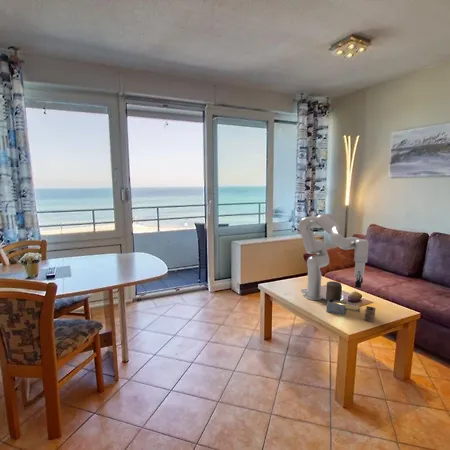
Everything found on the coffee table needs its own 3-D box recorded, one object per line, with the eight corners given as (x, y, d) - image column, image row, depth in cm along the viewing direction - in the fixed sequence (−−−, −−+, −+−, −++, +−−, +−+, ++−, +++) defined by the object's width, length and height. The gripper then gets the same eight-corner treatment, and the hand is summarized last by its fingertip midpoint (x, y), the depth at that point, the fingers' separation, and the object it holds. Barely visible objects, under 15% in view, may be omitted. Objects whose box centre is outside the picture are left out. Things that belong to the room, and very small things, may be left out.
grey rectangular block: (326, 311, 198) (327, 301, 197) (328, 308, 203) (329, 298, 202) (344, 315, 193) (344, 305, 191) (345, 312, 198) (346, 302, 197)
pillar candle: (341, 305, 209) (342, 284, 206) (326, 303, 211) (327, 283, 208) (338, 299, 218) (340, 280, 216) (324, 298, 220) (326, 278, 218)
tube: (332, 307, 197) (333, 302, 196) (333, 305, 200) (334, 300, 200) (359, 313, 189) (359, 308, 188) (359, 311, 192) (360, 305, 191)
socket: (364, 320, 186) (365, 309, 185) (365, 316, 192) (366, 306, 191) (373, 322, 184) (374, 311, 182) (374, 318, 189) (375, 307, 188)
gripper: (355, 255, 197) (354, 280, 200) (352, 261, 183) (350, 288, 185) (368, 256, 194) (366, 282, 196) (366, 263, 179) (364, 290, 182)
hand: (358, 285), depth 191 cm, fingers open, 9 cm apart
